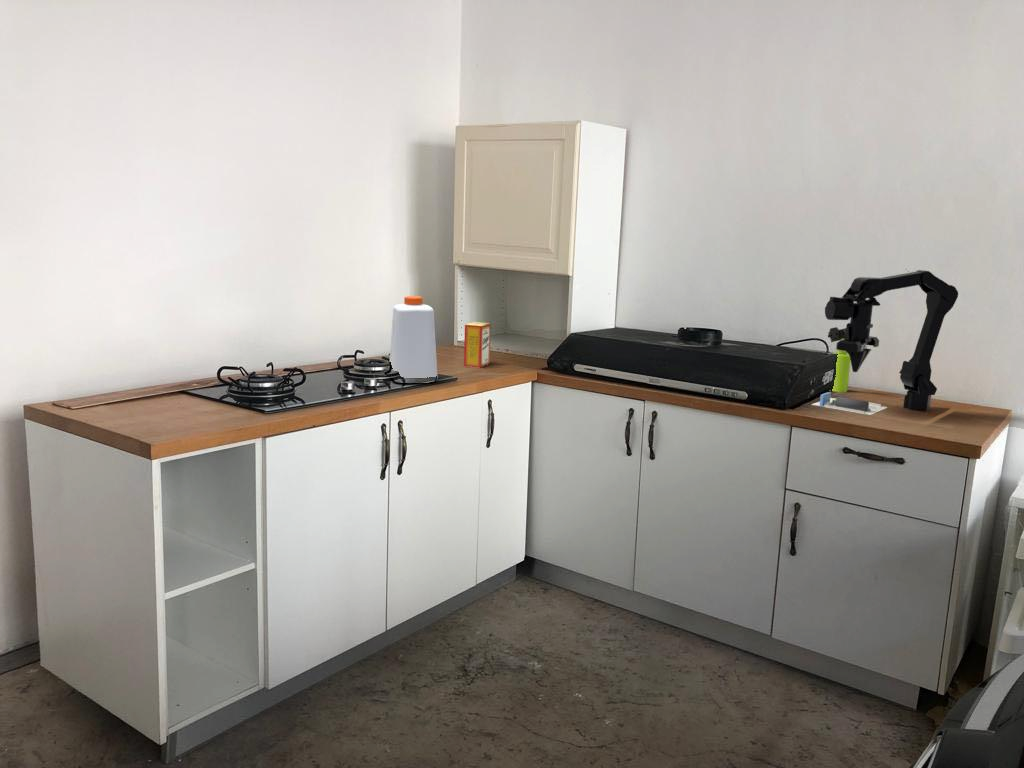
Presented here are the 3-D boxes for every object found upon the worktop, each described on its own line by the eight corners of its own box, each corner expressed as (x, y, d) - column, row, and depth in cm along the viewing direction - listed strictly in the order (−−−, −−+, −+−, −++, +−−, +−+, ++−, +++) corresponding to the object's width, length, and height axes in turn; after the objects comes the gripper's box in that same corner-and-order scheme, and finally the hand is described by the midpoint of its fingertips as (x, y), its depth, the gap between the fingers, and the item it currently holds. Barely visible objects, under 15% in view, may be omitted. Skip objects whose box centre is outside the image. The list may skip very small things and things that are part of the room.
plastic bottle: (430, 375, 298) (431, 294, 292) (439, 383, 284) (441, 299, 278) (386, 376, 293) (386, 294, 288) (394, 385, 279) (394, 299, 274)
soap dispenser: (851, 395, 285) (858, 336, 282) (829, 394, 287) (835, 334, 283) (848, 392, 291) (854, 333, 287) (827, 390, 292) (833, 332, 288)
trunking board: (887, 410, 264) (889, 396, 263) (870, 418, 253) (871, 403, 252) (830, 400, 276) (831, 387, 275) (810, 407, 265) (812, 393, 264)
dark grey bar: (866, 412, 258) (869, 403, 259) (864, 409, 256) (866, 400, 256) (837, 407, 264) (839, 398, 264) (834, 404, 262) (837, 395, 262)
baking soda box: (480, 368, 314) (481, 325, 311) (464, 366, 316) (464, 323, 313) (489, 364, 323) (490, 322, 320) (473, 362, 325) (474, 320, 322)
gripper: (845, 315, 267) (840, 364, 270) (821, 319, 253) (816, 371, 256) (882, 319, 260) (876, 369, 263) (859, 323, 246) (853, 377, 249)
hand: (854, 371), depth 258 cm, fingers closed
